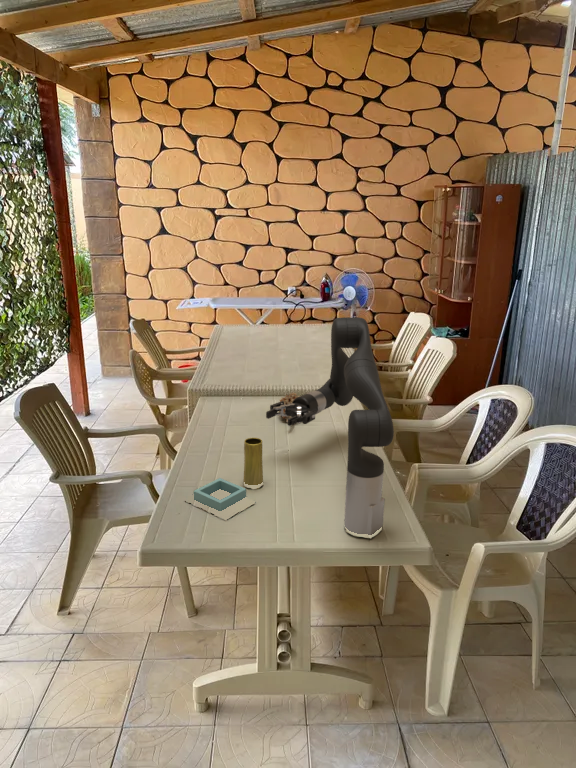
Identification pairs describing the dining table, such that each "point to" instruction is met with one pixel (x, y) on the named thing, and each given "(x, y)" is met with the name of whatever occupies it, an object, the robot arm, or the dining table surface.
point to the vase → (253, 461)
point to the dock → (205, 491)
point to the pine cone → (288, 402)
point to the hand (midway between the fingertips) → (277, 419)
